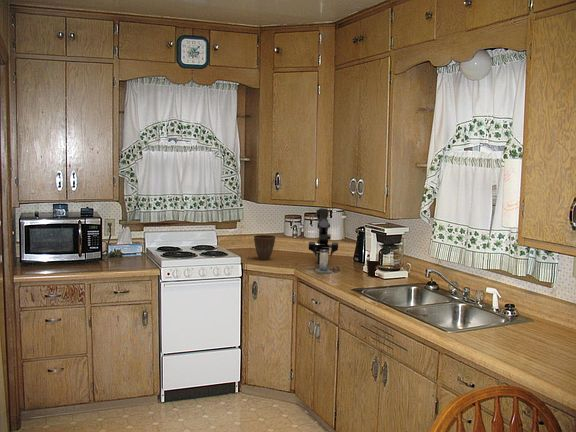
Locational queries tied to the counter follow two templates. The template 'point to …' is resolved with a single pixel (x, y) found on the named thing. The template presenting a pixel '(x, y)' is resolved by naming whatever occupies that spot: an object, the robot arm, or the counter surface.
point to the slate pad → (323, 271)
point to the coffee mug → (372, 267)
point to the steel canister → (323, 260)
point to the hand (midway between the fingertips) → (323, 256)
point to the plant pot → (264, 246)
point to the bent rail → (336, 268)
